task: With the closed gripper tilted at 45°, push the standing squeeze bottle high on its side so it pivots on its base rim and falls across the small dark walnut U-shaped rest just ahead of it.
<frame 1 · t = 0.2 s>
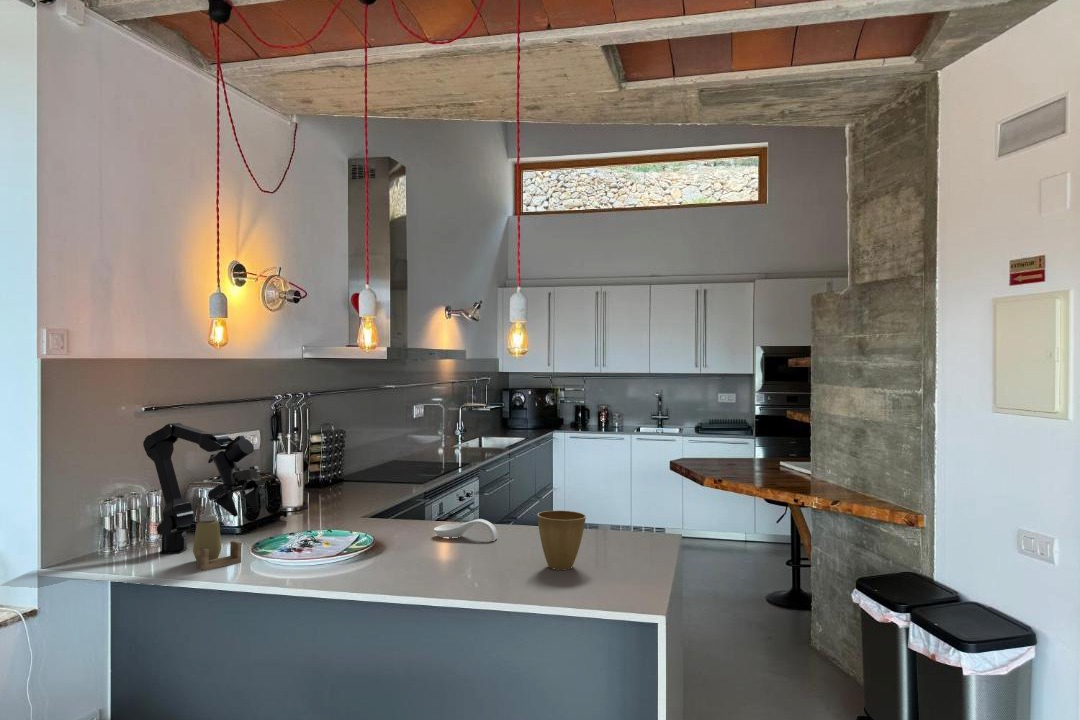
hand: (246, 513, 222), 15 cm above the countertop, tool tilted 30°, fingers open, 9 cm apart
plant pot: (561, 567, 218), on the countertop
squeeze bottle: (207, 562, 221), on the countertop
spoon rest: (465, 539, 256), on the countertop
u rest: (219, 564, 217), on the countertop
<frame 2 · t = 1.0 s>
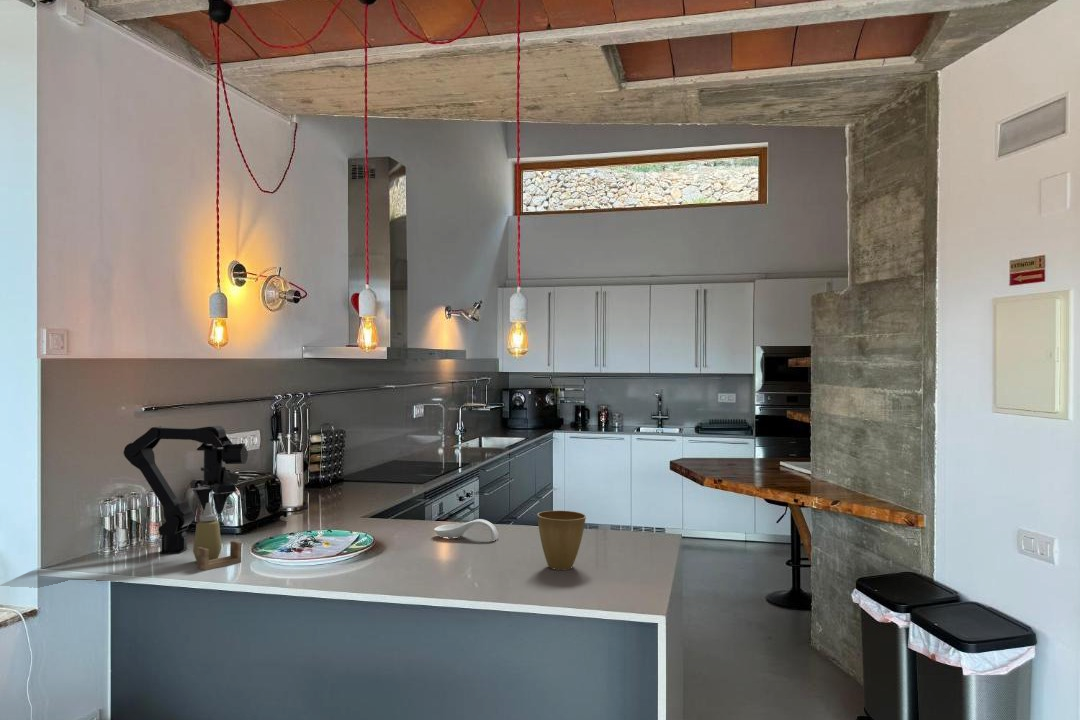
hand: (212, 511, 233), 13 cm above the countertop, tool pointing down, fingers open, 9 cm apart
nothing on the countertop moved.
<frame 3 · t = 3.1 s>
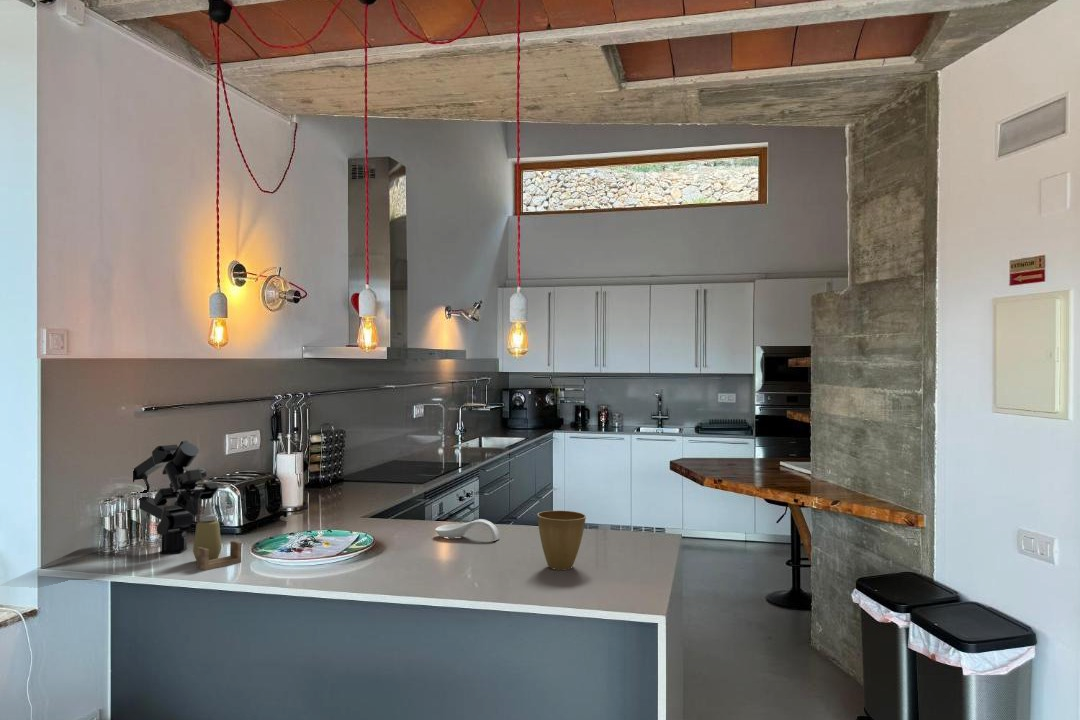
hand: (196, 514, 225), 14 cm above the countertop, tool tilted 45°, fingers closed
nothing on the countertop moved.
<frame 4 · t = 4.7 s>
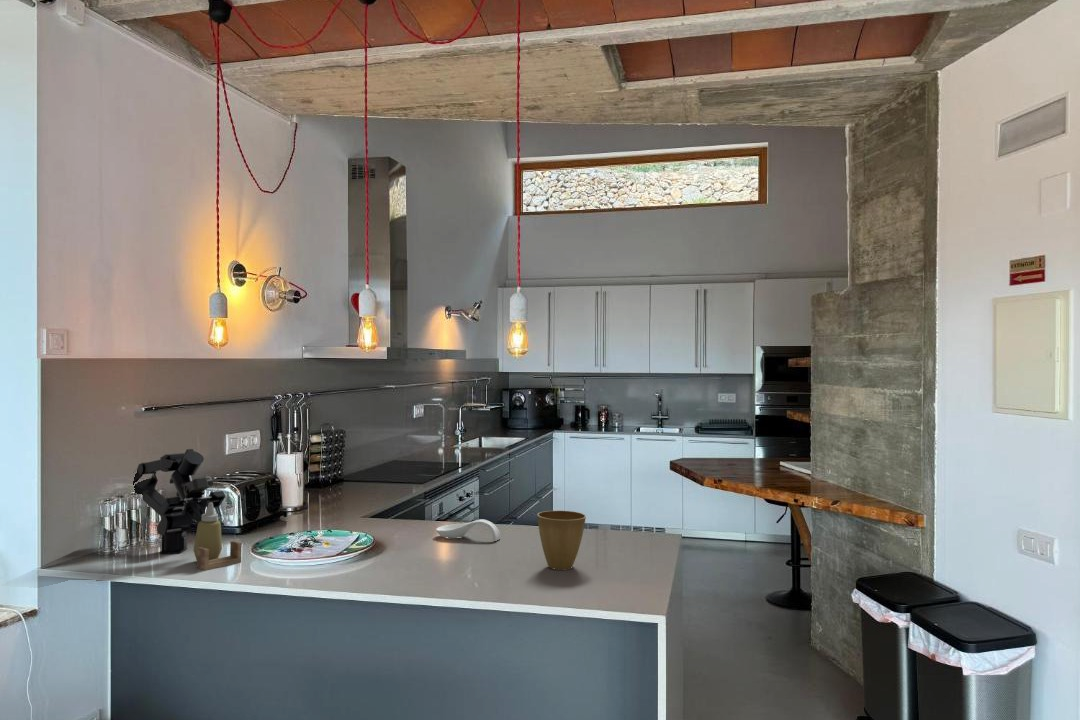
hand: (203, 523, 222), 11 cm above the countertop, tool tilted 45°, fingers closed
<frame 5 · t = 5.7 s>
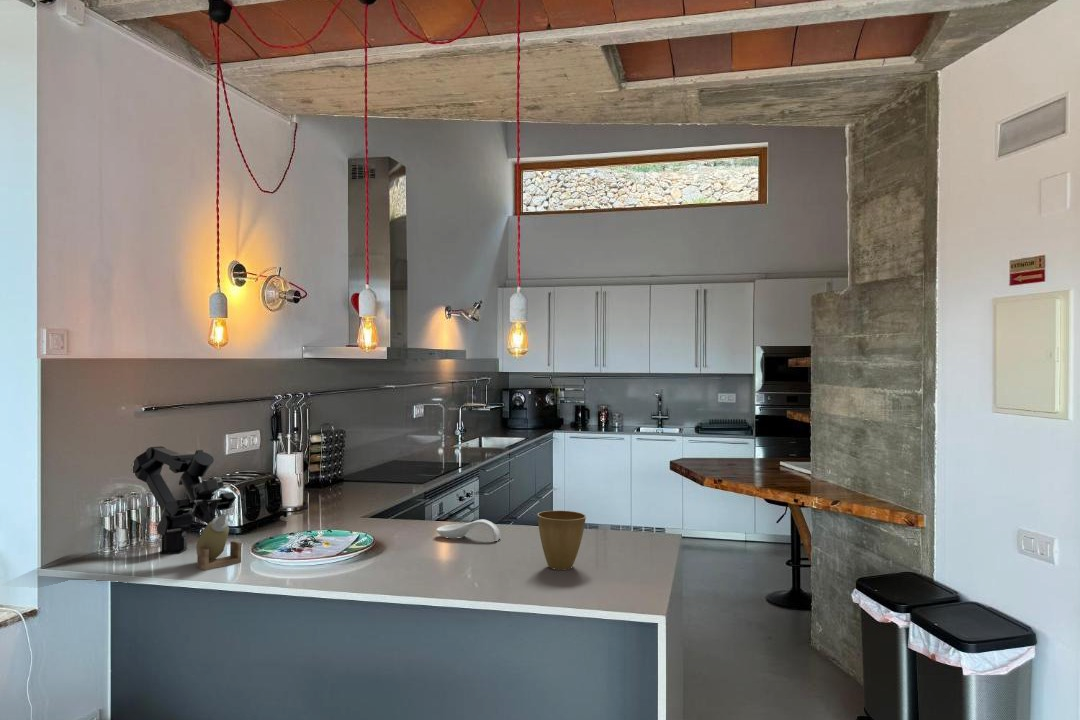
hand: (213, 525, 219), 11 cm above the countertop, tool tilted 45°, fingers closed
squeeze bottle: (206, 555, 221), point 2 cm above the countertop, touching gripper, u rest
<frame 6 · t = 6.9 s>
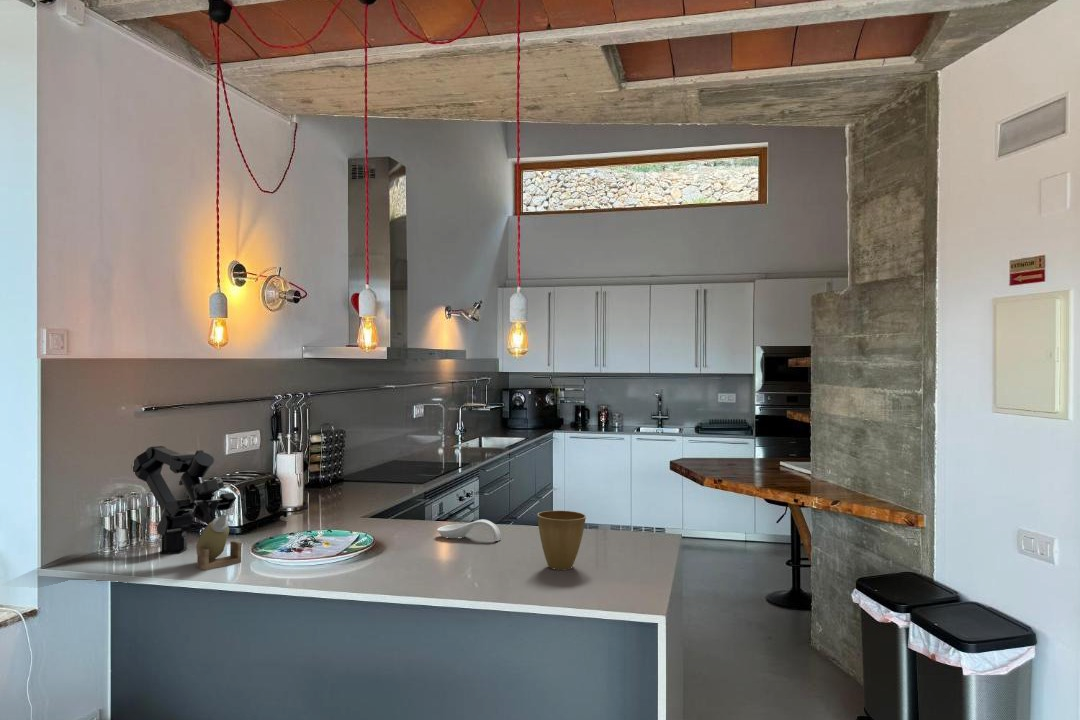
hand: (213, 526, 219), 11 cm above the countertop, tool tilted 45°, fingers closed
squeeze bottle: (206, 554, 221), point 2 cm above the countertop, touching u rest
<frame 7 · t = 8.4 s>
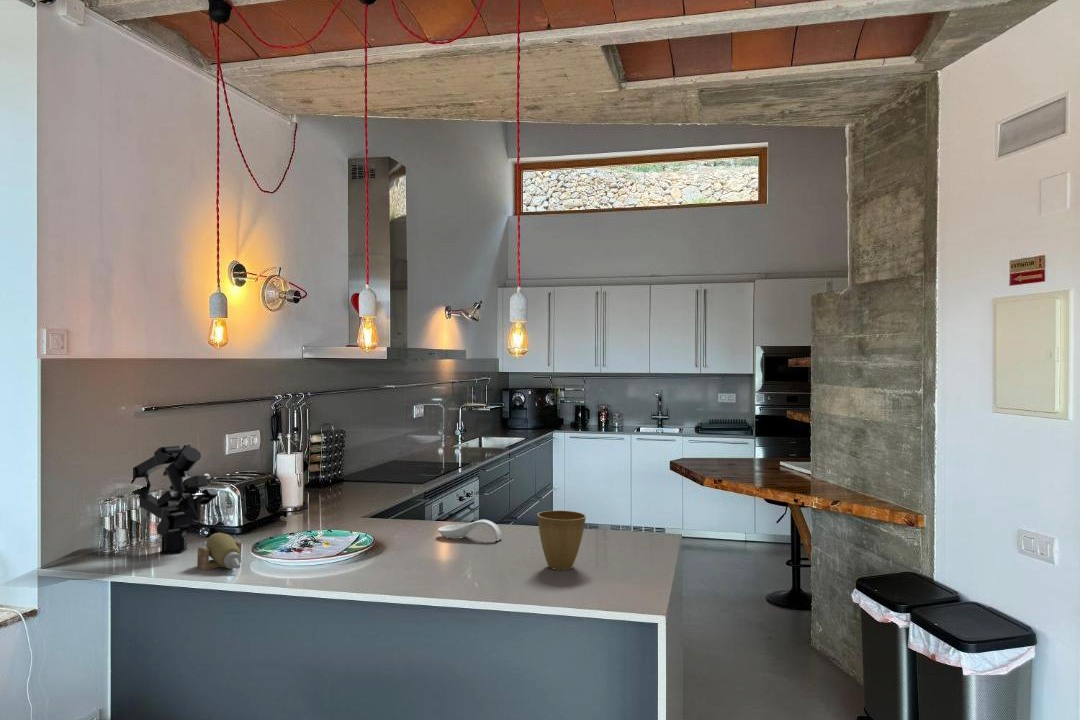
hand: (197, 520, 226), 12 cm above the countertop, tool tilted 40°, fingers closed
squeeze bottle: (215, 541, 220), point 6 cm above the countertop, touching u rest
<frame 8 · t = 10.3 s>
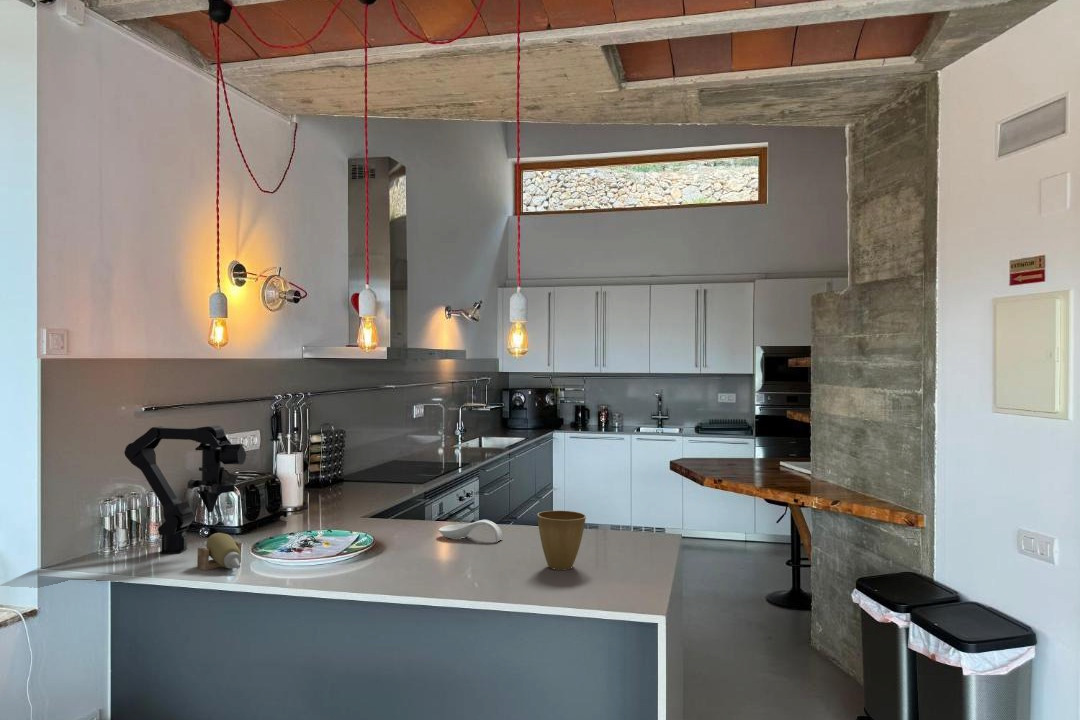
hand: (210, 512, 232), 13 cm above the countertop, tool pointing down, fingers closed
at the end: squeeze bottle tilted 104°; squeeze bottle touching u rest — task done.
